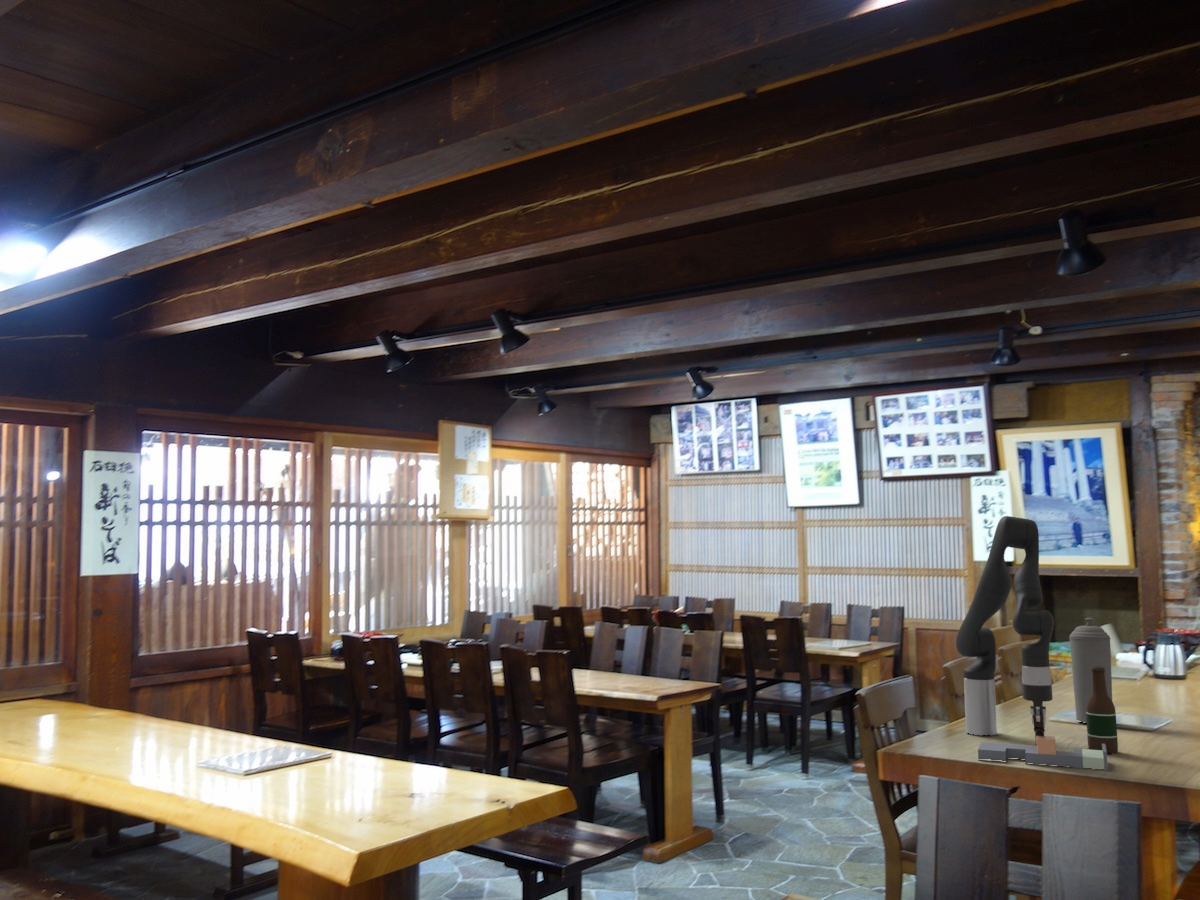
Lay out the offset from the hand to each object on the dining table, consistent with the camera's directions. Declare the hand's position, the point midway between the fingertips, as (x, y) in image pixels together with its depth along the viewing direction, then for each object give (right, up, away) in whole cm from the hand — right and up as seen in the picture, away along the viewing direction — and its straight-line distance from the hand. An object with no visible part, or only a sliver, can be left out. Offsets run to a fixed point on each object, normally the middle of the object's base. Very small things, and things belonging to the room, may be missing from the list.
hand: (1040, 746), depth 270 cm
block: (-1, 0, -5) cm, 5 cm away
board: (-1, -4, -1) cm, 4 cm away
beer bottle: (+23, -5, +11) cm, 26 cm away
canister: (+45, -10, +59) cm, 75 cm away
